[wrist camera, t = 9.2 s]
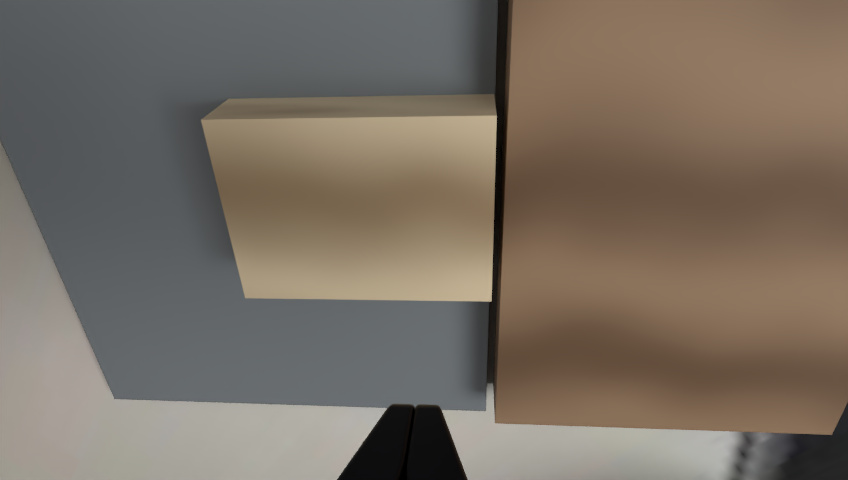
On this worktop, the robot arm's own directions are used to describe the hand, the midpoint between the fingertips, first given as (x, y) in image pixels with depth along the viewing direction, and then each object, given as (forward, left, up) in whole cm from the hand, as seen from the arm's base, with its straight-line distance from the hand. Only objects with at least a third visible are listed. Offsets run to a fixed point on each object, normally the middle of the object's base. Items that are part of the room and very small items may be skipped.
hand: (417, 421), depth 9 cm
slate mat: (0, +6, -10) cm, 12 cm away
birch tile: (0, +2, -9) cm, 9 cm away
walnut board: (0, -8, -10) cm, 13 cm away
